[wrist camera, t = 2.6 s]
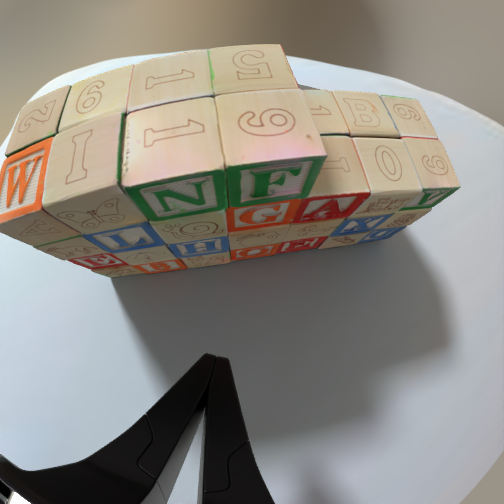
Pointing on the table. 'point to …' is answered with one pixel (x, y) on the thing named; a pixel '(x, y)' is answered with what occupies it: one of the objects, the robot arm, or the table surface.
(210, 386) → the robot arm
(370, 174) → the stack of blocks
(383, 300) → the table surface
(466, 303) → the table surface
